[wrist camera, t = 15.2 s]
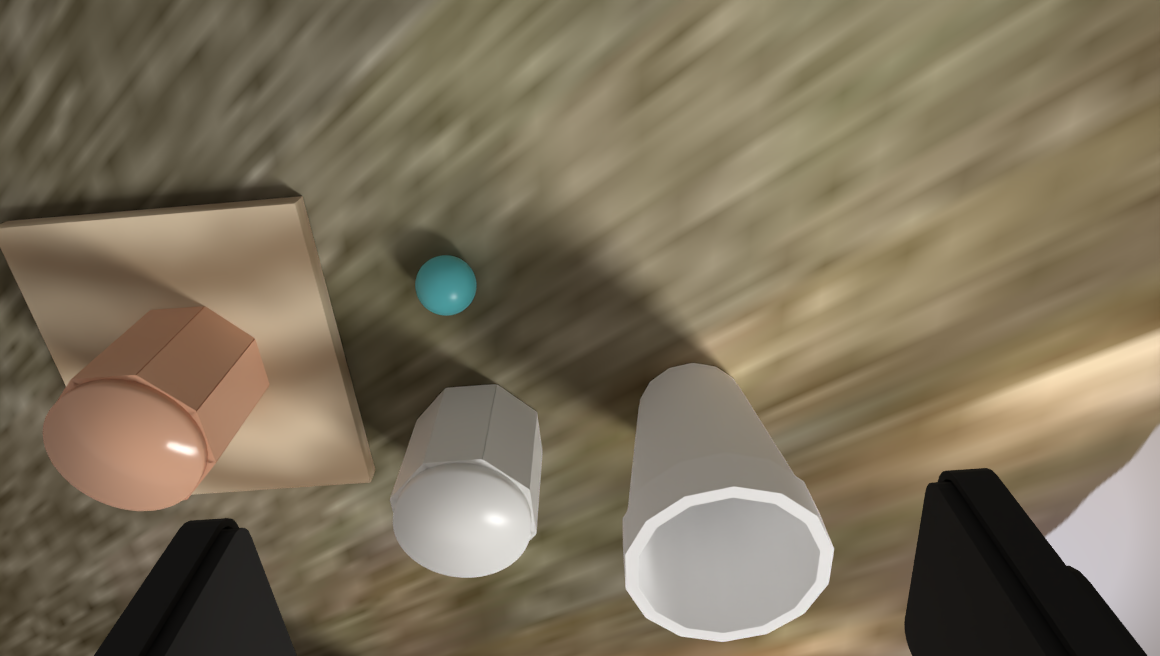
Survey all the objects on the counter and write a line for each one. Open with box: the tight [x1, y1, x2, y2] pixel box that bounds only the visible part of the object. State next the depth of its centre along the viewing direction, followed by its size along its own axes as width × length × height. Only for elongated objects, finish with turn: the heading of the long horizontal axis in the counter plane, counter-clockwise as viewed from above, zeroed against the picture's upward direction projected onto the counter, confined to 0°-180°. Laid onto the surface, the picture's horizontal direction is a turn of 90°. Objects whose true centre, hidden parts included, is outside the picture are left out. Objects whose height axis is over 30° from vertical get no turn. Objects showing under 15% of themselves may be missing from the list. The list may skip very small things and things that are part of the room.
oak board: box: [0, 196, 375, 494], centre depth 43 cm, size 18×16×1 cm
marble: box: [415, 255, 477, 315], centre depth 40 cm, size 3×3×3 cm
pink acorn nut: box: [43, 306, 270, 511], centre depth 39 cm, size 7×7×8 cm
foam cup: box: [623, 363, 834, 642], centre depth 40 cm, size 10×9×13 cm
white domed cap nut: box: [390, 384, 542, 578], centre depth 43 cm, size 7×7×8 cm
